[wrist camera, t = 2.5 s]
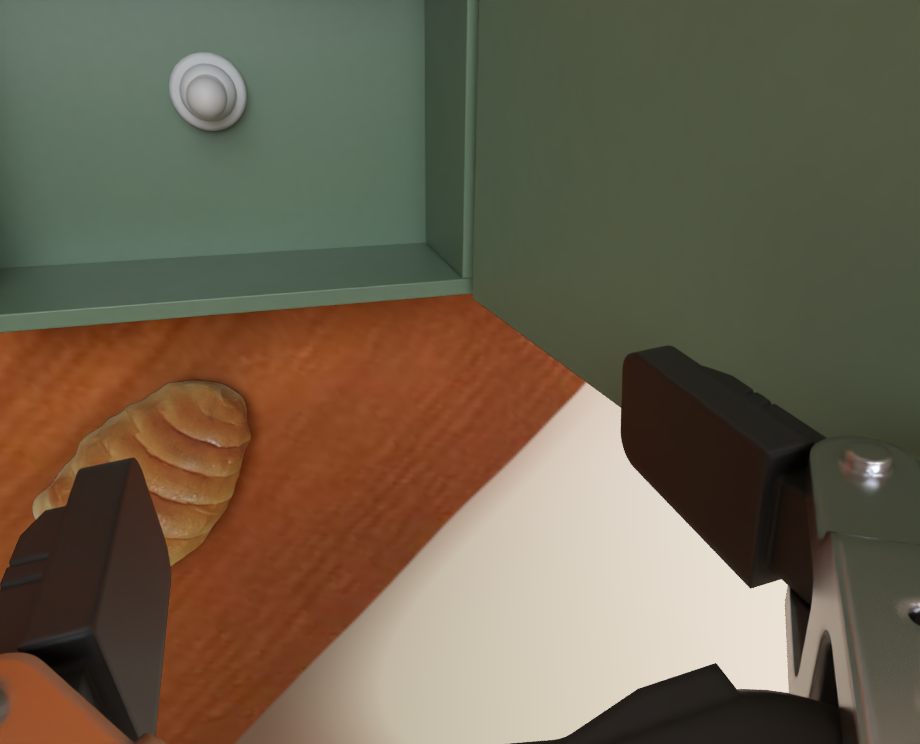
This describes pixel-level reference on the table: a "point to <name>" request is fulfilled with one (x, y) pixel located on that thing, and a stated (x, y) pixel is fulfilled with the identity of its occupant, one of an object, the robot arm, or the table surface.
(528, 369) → the table surface
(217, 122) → the pawn
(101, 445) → the pastry
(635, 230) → the box lid
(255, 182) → the chess box
